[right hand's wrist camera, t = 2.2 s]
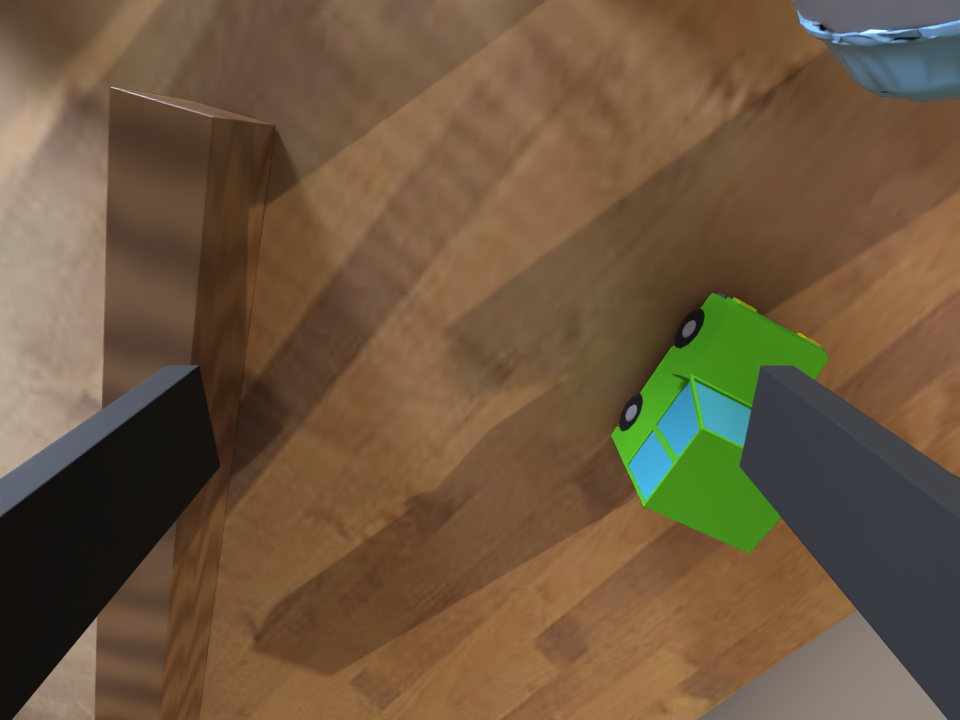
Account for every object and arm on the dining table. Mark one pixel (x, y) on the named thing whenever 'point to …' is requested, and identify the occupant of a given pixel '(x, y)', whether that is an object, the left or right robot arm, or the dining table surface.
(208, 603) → the post
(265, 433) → the dining table surface
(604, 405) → the dining table surface
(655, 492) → the toy car
